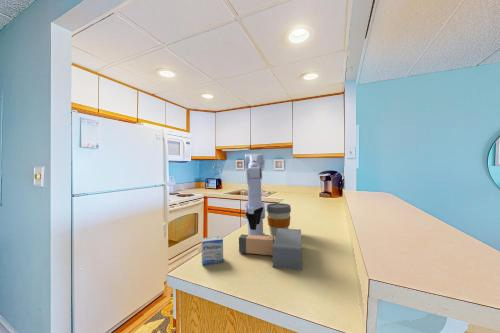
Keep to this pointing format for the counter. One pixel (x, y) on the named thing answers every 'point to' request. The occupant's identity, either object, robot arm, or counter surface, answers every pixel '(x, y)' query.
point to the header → (287, 249)
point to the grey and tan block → (256, 244)
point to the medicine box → (212, 250)
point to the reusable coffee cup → (278, 217)
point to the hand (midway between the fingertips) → (255, 226)
